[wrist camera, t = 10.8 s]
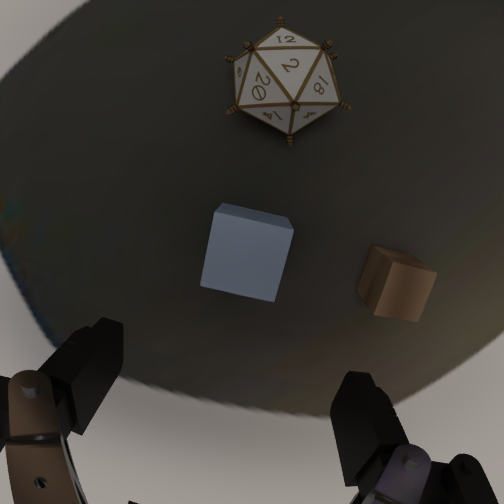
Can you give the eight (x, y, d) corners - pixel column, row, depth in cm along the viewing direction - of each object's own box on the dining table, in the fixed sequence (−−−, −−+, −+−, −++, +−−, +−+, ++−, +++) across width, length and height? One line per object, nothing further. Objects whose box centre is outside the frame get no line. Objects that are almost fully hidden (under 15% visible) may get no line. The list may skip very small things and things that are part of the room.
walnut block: (411, 255, 26) (437, 273, 22) (396, 298, 28) (417, 322, 23) (371, 244, 26) (393, 261, 21) (356, 290, 27) (373, 315, 23)
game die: (289, 118, 27) (306, 189, 21) (207, 76, 23) (192, 135, 17) (349, 48, 21) (398, 97, 15) (264, -7, 17) (277, 7, 11)
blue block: (287, 217, 26) (294, 230, 21) (271, 277, 27) (274, 302, 23) (223, 202, 26) (214, 211, 21) (210, 264, 27) (200, 285, 22)
